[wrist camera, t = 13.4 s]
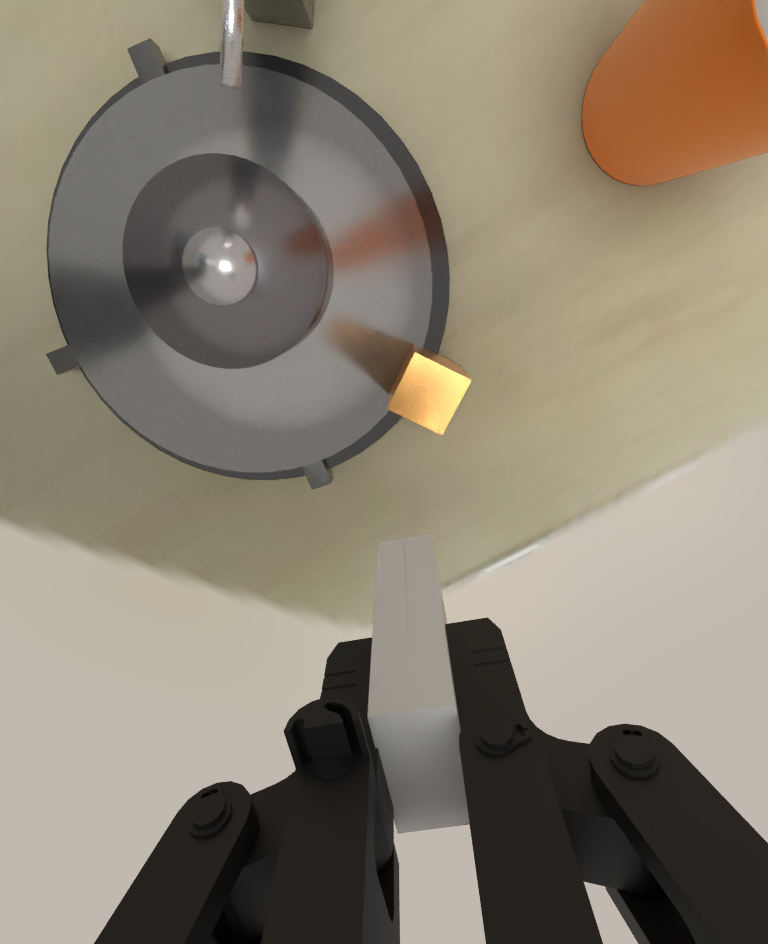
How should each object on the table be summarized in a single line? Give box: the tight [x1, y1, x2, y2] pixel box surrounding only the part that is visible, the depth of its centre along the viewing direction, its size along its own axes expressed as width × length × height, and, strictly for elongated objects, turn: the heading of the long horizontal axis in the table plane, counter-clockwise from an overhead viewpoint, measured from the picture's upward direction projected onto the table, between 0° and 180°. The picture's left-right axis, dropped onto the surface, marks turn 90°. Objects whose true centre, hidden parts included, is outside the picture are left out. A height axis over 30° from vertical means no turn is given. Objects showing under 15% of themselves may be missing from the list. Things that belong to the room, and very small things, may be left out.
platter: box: [46, 38, 471, 489], centre depth 27 cm, size 20×22×5 cm
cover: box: [122, 153, 334, 369], centre depth 26 cm, size 9×9×5 cm
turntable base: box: [47, 52, 449, 480], centre depth 30 cm, size 22×22×1 cm
